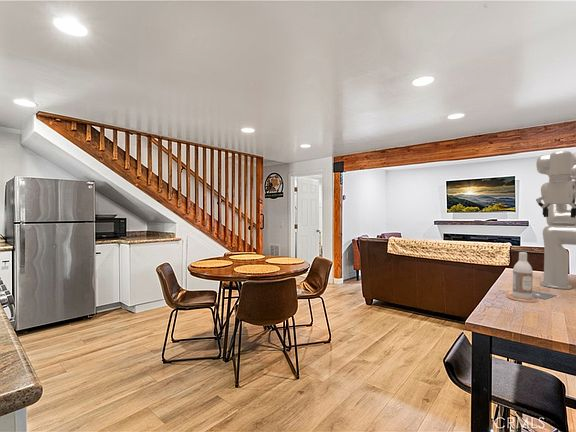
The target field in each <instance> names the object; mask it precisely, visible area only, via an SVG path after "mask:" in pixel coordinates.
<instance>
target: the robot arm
mask: <svg viewBox="0 0 576 432" xmlns="http://www.w3.org/2000/svg"><path fill="white" fill-rule="evenodd" d="M535 166H536V170H537V173H539V174H541V175H546V176H548V182H545V183H543V184H542V185H541V187H540V195H541V197H537V198H536V199H535V201H536V203H537V204H538V206H539V207H541V209H542V216H543V218H546V224H547V226H545V227H544V228H543V230H542V239H543V247H544V251H543V253H544V257H543V259H544V260H543V281H540V282H539V285H540V286H542V287H545V288H552V289H557V290H558V289H559V290H571V289H572V288H573V286H572V284H569V262H570V261H569V259H570V257H569V255H570V253H569V252H568V250H567V249H566V248H565V247H564V246H563V245H571V246H572V245H573V246H576V156H575V154H573V153H572V152H571V151H567V150H565V151H554V152H552V153H550V154H542V155H540V156H538V157H537V159H536V165H535ZM542 201H543V202H542ZM568 205H569V206H570V207H571V208H570V209H568Z"/></svg>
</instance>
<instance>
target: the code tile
mask: <svg viewBox="0 0 576 432" xmlns="http://www.w3.org/2000/svg"><path fill="white" fill-rule="evenodd" d="M556 296H557V295H556V294H553V293H551V294H550V293H546V292H540V291H535V290H532V297H534V298H537V299H541V300H548V299H551V298H553V297H556Z"/></svg>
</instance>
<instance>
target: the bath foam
mask: <svg viewBox="0 0 576 432" xmlns="http://www.w3.org/2000/svg"><path fill="white" fill-rule="evenodd" d="M533 273H534V272H533V267H532V266H531V264H530V262H529V261H528V253H527V252H525V251H523V252H522V251H520V252H518V261H517V262H516V263H515V264H514V266H513V268H512V294H513V296H514V297H516V298H520V299H531V298H532V291H533V279H534V278H533V276H534V275H533Z"/></svg>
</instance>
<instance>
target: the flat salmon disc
mask: <svg viewBox="0 0 576 432" xmlns="http://www.w3.org/2000/svg"><path fill="white" fill-rule="evenodd" d="M506 298H507V299H510V300H512V301H517V302H521V303H522V302H523V303H537V302H539V298H535V297H532V298H531V299H520V298H516V297H514V296H513V293H510V294H509V293H508V294H507V295H506Z"/></svg>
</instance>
